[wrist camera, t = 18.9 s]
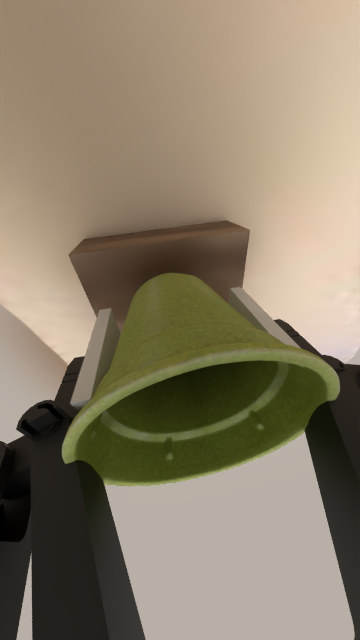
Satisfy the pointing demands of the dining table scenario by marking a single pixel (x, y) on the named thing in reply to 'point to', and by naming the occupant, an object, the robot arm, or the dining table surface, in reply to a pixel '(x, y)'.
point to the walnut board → (159, 262)
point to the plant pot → (194, 390)
